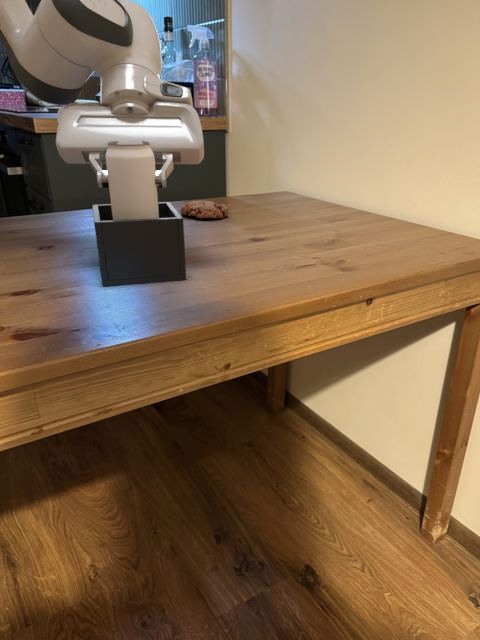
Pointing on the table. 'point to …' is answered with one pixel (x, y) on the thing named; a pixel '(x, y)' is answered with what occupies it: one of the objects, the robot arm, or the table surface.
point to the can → (132, 181)
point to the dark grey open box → (140, 247)
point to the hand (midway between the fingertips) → (132, 185)
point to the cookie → (204, 209)
